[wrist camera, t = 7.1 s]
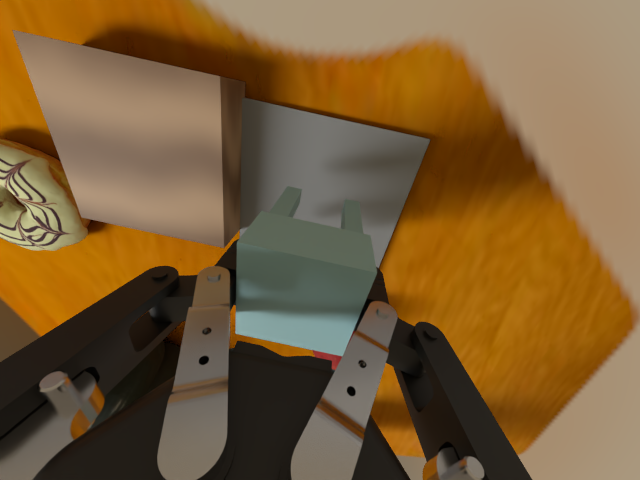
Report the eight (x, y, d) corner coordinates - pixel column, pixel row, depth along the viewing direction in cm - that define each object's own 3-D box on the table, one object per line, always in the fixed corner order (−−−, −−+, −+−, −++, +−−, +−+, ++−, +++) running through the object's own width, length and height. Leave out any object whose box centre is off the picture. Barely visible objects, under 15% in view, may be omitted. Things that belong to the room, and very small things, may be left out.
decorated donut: (119, 238, 26) (86, 258, 22) (32, 235, 27) (-11, 254, 23) (65, 134, 20) (12, 140, 17) (-41, 135, 21) (-110, 141, 18)
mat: (372, 279, 25) (372, 282, 24) (241, 251, 25) (239, 254, 24) (428, 138, 18) (430, 139, 17) (245, 97, 17) (242, 97, 17)
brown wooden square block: (242, 226, 23) (224, 247, 20) (121, 200, 23) (81, 217, 19) (245, 81, 17) (220, 76, 14) (80, 45, 17) (12, 29, 13)
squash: (87, 320, 24) (-75, 489, 19) (213, 381, 29) (113, 529, 24) (123, 301, 37) (32, 399, 31) (207, 345, 41) (141, 438, 36)
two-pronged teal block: (364, 199, 16) (377, 272, 9) (344, 263, 19) (342, 356, 12) (284, 181, 16) (236, 242, 9) (276, 248, 19) (235, 333, 12)
